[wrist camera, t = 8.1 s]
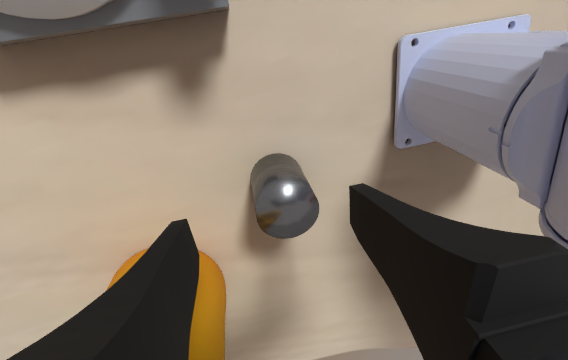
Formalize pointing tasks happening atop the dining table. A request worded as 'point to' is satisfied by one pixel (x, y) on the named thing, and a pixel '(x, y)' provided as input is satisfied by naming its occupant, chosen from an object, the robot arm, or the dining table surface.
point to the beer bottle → (201, 309)
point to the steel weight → (282, 197)
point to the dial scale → (89, 15)
